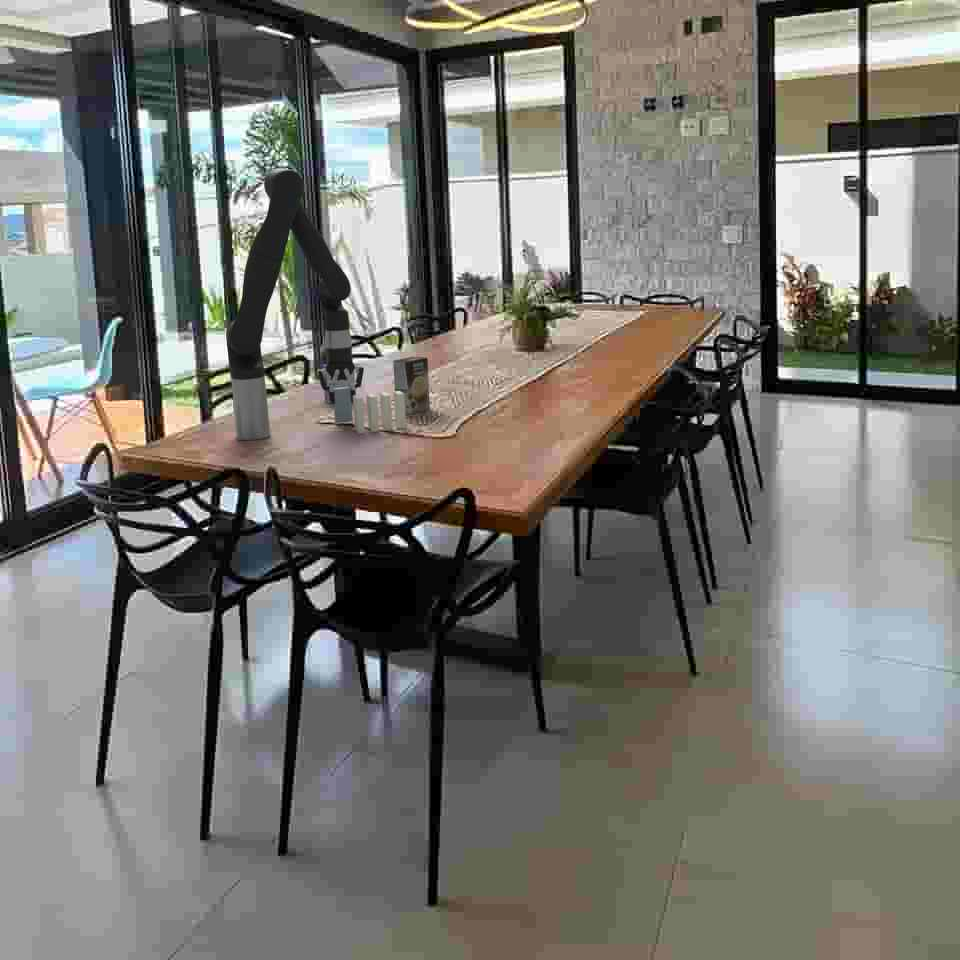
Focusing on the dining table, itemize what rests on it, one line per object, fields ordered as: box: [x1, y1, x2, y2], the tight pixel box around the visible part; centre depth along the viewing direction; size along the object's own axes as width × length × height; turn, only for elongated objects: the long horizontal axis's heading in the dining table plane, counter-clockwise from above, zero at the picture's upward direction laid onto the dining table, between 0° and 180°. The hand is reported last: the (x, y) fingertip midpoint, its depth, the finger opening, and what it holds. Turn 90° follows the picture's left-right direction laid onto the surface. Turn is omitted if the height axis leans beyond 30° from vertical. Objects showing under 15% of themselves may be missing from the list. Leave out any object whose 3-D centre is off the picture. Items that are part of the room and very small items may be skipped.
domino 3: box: [379, 391, 394, 431], centre depth 314 cm, size 2×5×10 cm, turn 18°
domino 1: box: [352, 394, 366, 434], centre depth 311 cm, size 2×5×10 cm, turn 18°
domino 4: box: [393, 390, 407, 429], centre depth 315 cm, size 2×5×10 cm, turn 18°
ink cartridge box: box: [321, 362, 357, 404], centre depth 356 cm, size 10×6×14 cm, turn 115°
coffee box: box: [392, 356, 431, 415], centre depth 335 cm, size 9×6×16 cm
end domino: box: [333, 387, 354, 424], centre depth 322 cm, size 2×5×10 cm, turn 108°
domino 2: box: [365, 393, 380, 433], centre depth 312 cm, size 2×5×10 cm, turn 18°
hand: (342, 402), depth 321 cm, fingers closed on end domino, 5 cm apart
